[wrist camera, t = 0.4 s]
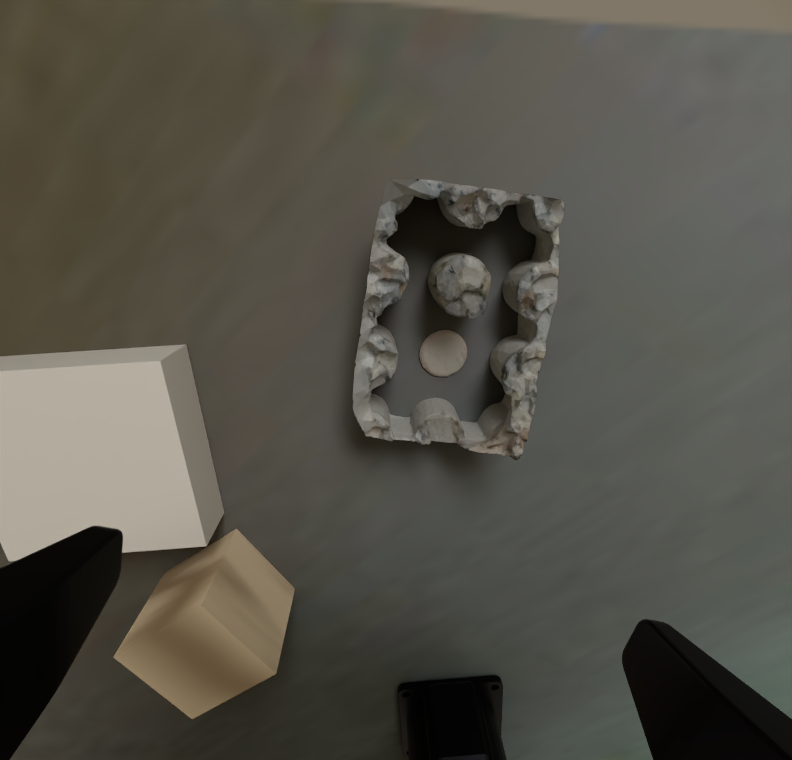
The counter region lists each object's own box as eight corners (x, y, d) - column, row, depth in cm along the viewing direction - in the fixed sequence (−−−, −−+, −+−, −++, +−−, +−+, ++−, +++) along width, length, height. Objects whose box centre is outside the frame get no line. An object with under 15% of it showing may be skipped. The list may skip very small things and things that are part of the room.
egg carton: (497, 430, 22) (523, 474, 18) (348, 411, 21) (343, 452, 17) (556, 206, 18) (604, 201, 15) (381, 173, 18) (383, 159, 14)
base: (224, 512, 22) (206, 546, 20) (47, 525, 22) (8, 561, 20) (186, 344, 19) (160, 360, 17) (-19, 357, 19) (-74, 376, 17)
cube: (226, 627, 25) (192, 719, 20) (165, 571, 24) (113, 657, 19) (295, 587, 24) (276, 673, 20) (236, 527, 23) (201, 605, 18)
